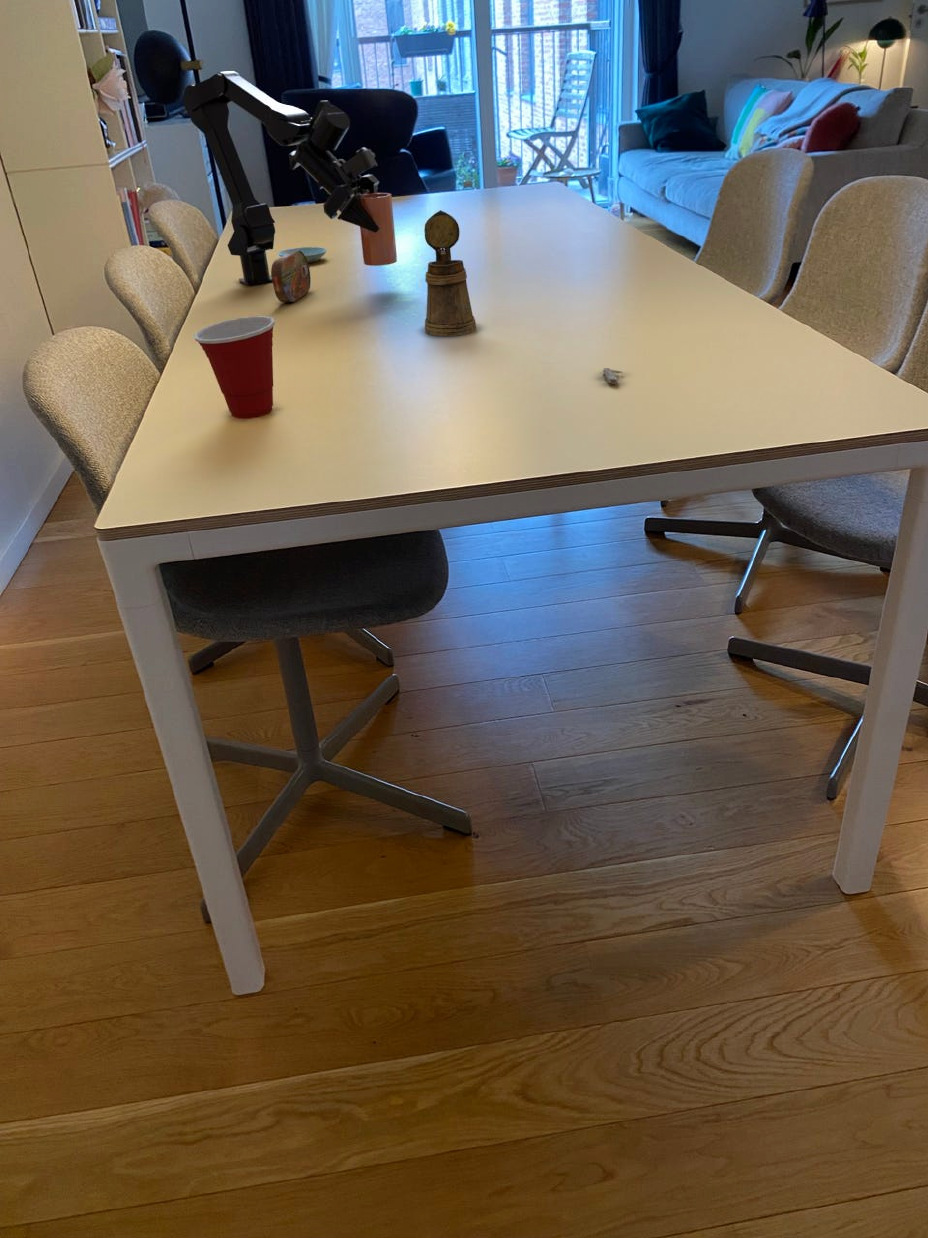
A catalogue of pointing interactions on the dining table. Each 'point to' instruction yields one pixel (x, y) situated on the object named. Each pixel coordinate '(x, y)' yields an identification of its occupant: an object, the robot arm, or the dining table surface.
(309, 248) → the saucer
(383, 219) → the pot
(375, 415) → the dining table surface
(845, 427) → the dining table surface
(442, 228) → the wooden mug
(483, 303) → the dining table surface
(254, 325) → the plastic cup
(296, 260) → the tin
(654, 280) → the dining table surface
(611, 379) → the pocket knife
